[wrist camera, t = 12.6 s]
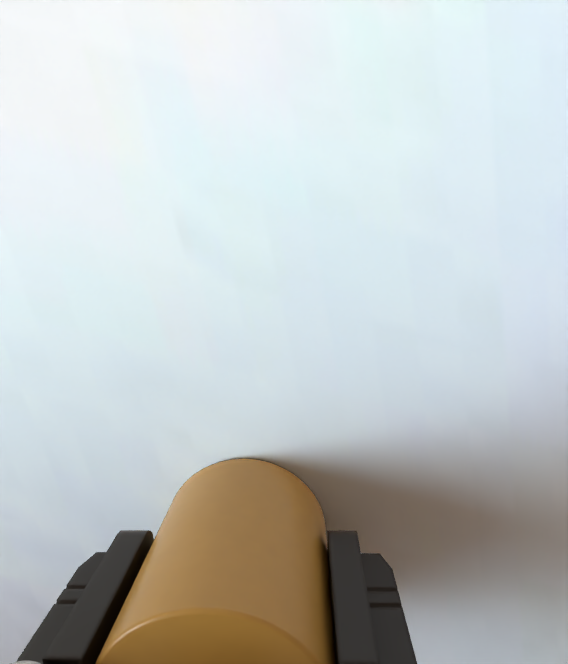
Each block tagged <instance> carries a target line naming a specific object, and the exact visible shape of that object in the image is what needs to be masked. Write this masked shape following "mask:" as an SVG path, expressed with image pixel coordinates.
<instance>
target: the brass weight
mask: <svg viewBox="0 0 568 664" xmlns="http://www.w3.org/2000/svg"><path fill="white" fill-rule="evenodd" d="M95 664H336V658H335V644H334V631H333V618H332V605H331V592H330V579H329V566H328V553H327V538H326V526H325V519H324V515H323V512H322V509H321V507H320V504H319V502H318V501H317V499H316V497H315V495H314V494H313V493H312V492H311V490H310V489H309V488H308V487H307V486H306V485H305V484H304V483H303V482H302V481H301V480H300V479H299V478H298V477H296V476H295V475H294V474H292V473H291V472H289V471H287V470H286V469H284V468H282V467H280V466H277V465H275V464H272V463H269V462H265V461H261V460H255V459H231V460H226V461H221V462H218V463H215V464H212V465H210V466H208V467H206V468H204V469H202V470H200V471H199V472H197V473H196V474H194V475H193V476H192V477H190V478H189V479H188V480H187V481H186V482H185V483H184V484H183V486H182V487H181V488H180V489H179V491H178V492H177V494H176V495H175V497H174V499H173V501H172V504H171V506H170V508H169V510H168V512H167V514H166V516H165V518H164V520H163V522H162V525H161V527H160V529H159V531H158V533H157V535H156V537H155V539H154V541H153V543H152V546H151V548H150V550H149V552H148V554H147V556H146V558H145V560H144V562H143V564H142V567H141V569H140V571H139V573H138V575H137V577H136V579H135V581H134V583H133V585H132V588H131V590H130V592H129V594H128V596H127V598H126V600H125V602H124V604H123V606H122V608H121V611H120V613H119V615H118V617H117V619H116V621H115V623H114V625H113V627H112V629H111V632H110V634H109V636H108V638H107V640H106V642H105V644H104V646H103V648H102V650H101V653H100V655H99V657H98V659H97V661H96V663H95Z"/></svg>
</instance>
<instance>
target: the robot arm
mask: <svg viewBox="0 0 568 664" xmlns="http://www.w3.org/2000/svg"><path fill="white" fill-rule="evenodd" d="M153 541H154V539H153V534H152V532H151V531H120V532H119V533H118V534H117V536H116V537H115V539H114V541H113V542H112V544H111V546H110V547H109V549H108V551H107V552H96V553H95V554H94V555H93V556H92V557H90V558H89V559H88V560H87V561H86V562H84V563H83V564H82V565H81V566H80V567H78V569H77V570H76V572H75V574H74V575H73V577H72V578H71V580H70V581H69V583H68V584H67V587H66V589H64V590H63V592H62V593H61V595H60V596H59V598H58V599H57V603H56V604H54V605H53V607H52V608H51V610H50V611H49V613H48V614H47V616H46V617H45V619H44V620H43V622H42V624H41V625H40V627H39V628H38V630H37V631H36V633H35V634H34V636H33V637H32V639H31V640H30V642H29V643H28V645H27V646H26V648H25V649H24V651H23V652H22V654H21V655H20V657H19V658H18V660H17V661H16V662H14V663H11V664H95V663H96V661H97V659H98V657H99V655H100V653H101V650H102V648H103V646H104V644H105V642H106V640H107V638H108V636H109V634H110V632H111V629H112V627H113V625H114V623H115V621H116V619H117V617H118V615H119V613H120V611H121V608H122V606H123V604H124V602H125V600H126V598H127V596H128V594H129V592H130V590H131V588H132V585H133V583H134V581H135V579H136V577H137V575H138V573H139V571H140V569H141V567H142V564H143V562H144V560H145V558H146V556H147V554H148V552H149V550H150V548H151V546H152V543H153ZM327 553H328V566H329V579H330V592H331V605H332V618H333V631H334V644H335V658H336V664H417V661H416V658H415V654H414V650H413V646H412V642H411V639H410V635H409V631H408V627H407V623H406V620H405V616H404V612H403V608H402V606H401V601H400V597H399V593H398V591H397V585H396V582H395V578H394V574H393V570H392V568H391V567H390V566H389V565H388V563H387V562H386V561H385V560H384V558H383V557H382V556H381V555H380V554H371V553H360V547H359V542H358V536H357V532H356V531H327Z"/></svg>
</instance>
